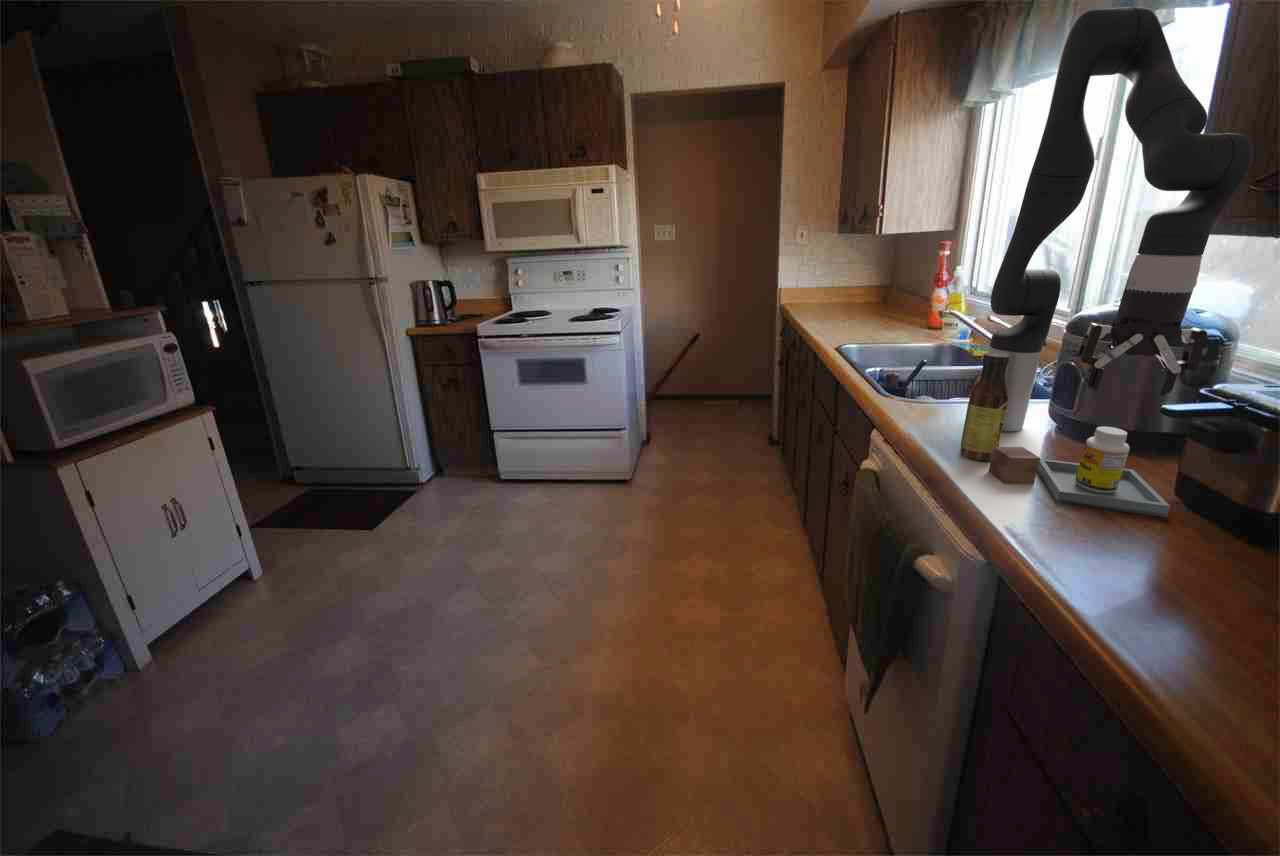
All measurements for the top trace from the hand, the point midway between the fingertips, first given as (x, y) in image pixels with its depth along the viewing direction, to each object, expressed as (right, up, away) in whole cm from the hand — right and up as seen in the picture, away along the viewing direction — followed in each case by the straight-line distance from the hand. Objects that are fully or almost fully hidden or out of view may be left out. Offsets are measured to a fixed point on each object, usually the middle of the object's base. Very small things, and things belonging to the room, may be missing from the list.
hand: (1124, 392), depth 88 cm
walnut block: (-11, -15, +11) cm, 21 cm away
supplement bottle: (0, -16, +6) cm, 17 cm away
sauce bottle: (-11, -11, +20) cm, 26 cm away
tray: (0, -16, +6) cm, 17 cm away
